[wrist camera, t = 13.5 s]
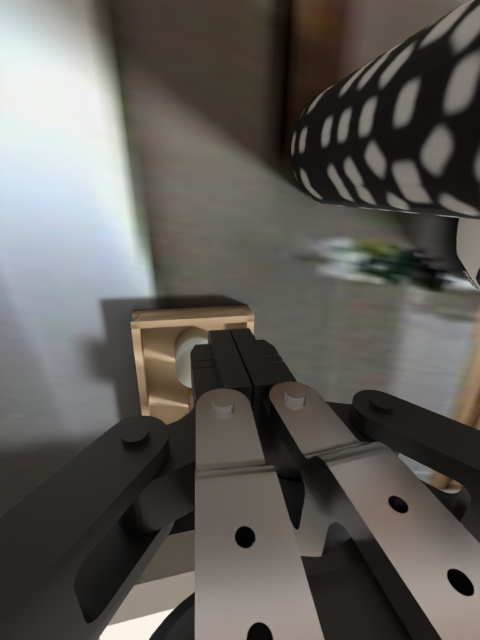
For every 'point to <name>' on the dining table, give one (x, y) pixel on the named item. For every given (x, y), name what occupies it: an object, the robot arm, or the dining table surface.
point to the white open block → (156, 590)
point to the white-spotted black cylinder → (401, 127)
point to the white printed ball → (468, 249)
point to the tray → (162, 355)
